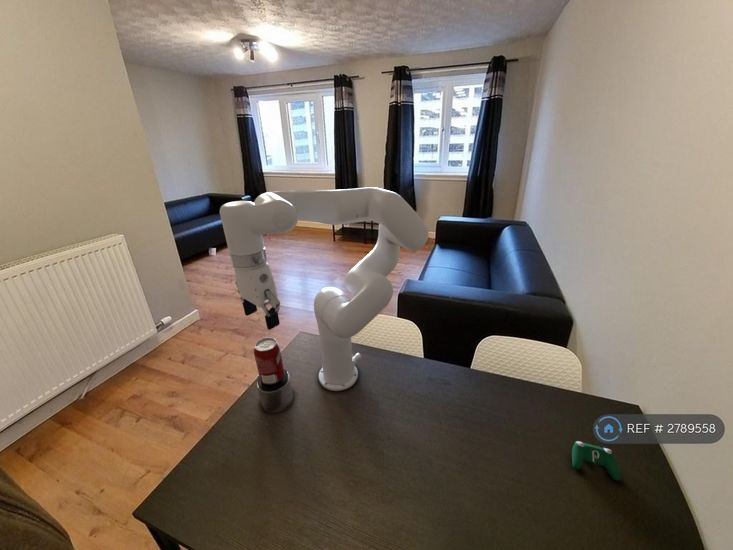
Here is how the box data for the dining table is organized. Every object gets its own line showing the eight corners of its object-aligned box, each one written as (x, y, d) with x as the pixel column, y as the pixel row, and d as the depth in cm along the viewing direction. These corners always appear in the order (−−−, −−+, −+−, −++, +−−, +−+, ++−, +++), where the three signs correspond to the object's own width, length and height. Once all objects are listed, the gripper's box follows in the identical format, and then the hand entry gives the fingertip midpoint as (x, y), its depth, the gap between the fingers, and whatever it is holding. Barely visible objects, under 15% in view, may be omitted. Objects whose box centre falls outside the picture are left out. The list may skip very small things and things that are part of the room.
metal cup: (280, 383, 96) (276, 361, 92) (299, 397, 91) (295, 375, 87) (255, 402, 89) (249, 379, 85) (274, 418, 84) (268, 395, 80)
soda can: (278, 388, 82) (271, 353, 77) (255, 384, 84) (247, 350, 78) (288, 370, 88) (283, 337, 83) (267, 367, 90) (260, 334, 84)
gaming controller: (613, 478, 70) (613, 449, 72) (622, 482, 67) (621, 452, 69) (568, 465, 73) (568, 438, 75) (574, 469, 70) (574, 440, 71)
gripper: (285, 261, 66) (295, 325, 74) (243, 244, 76) (256, 302, 84) (255, 273, 61) (269, 340, 69) (214, 253, 71) (230, 314, 79)
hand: (262, 319), depth 76 cm, fingers open, 9 cm apart
